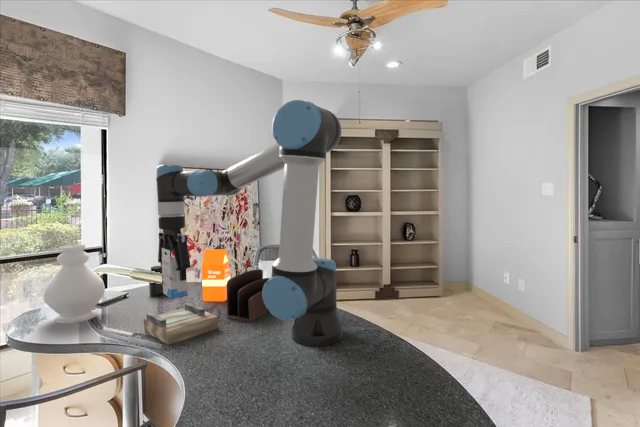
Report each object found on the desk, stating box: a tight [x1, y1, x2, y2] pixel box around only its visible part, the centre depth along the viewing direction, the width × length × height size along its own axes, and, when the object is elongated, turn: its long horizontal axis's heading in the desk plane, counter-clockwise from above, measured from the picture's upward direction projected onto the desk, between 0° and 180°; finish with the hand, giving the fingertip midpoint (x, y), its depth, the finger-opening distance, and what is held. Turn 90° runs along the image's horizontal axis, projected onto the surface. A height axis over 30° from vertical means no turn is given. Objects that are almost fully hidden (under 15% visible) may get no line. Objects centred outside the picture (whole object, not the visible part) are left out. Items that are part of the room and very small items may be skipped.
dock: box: [143, 302, 219, 346], centre depth 116 cm, size 16×16×6 cm
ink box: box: [161, 248, 188, 300], centre depth 115 cm, size 8×5×15 cm, turn 39°
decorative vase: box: [43, 244, 106, 325], centre depth 129 cm, size 18×18×25 cm
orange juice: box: [201, 248, 231, 302], centre depth 149 cm, size 8×9×20 cm
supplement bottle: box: [148, 265, 166, 298], centre depth 156 cm, size 7×7×12 cm
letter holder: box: [226, 268, 270, 323], centre depth 133 cm, size 10×20×14 cm, turn 152°
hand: (174, 287), depth 116 cm, fingers closed on ink box, 9 cm apart
